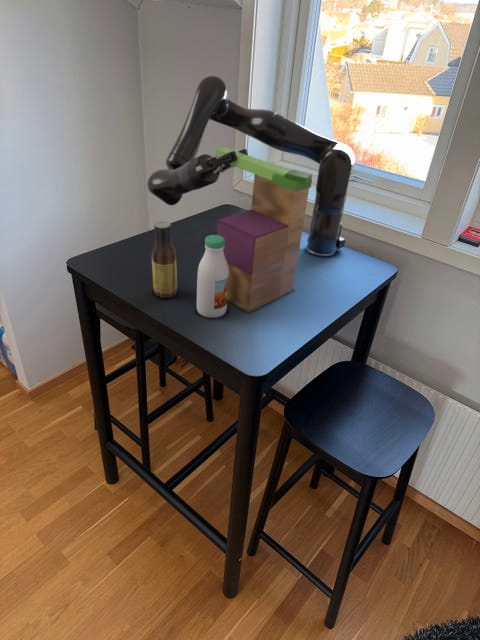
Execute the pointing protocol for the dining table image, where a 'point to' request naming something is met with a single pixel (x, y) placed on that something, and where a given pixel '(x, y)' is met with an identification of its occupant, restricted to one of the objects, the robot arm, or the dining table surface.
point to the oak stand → (271, 247)
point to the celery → (270, 171)
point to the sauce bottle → (164, 261)
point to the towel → (244, 236)
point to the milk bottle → (213, 279)
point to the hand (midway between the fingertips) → (240, 154)
